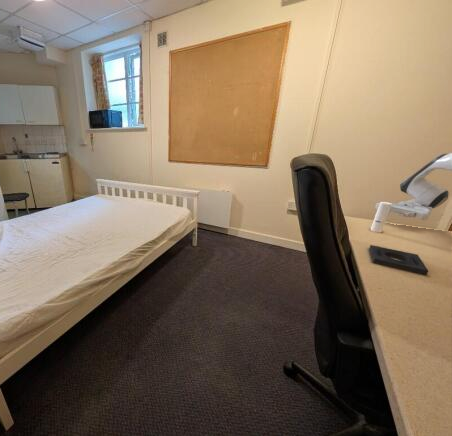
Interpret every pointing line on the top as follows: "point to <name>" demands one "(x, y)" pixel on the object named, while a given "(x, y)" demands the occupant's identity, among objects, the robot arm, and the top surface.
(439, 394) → the top surface
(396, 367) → the top surface
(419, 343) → the top surface
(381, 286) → the top surface
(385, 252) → the base pad
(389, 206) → the tube
